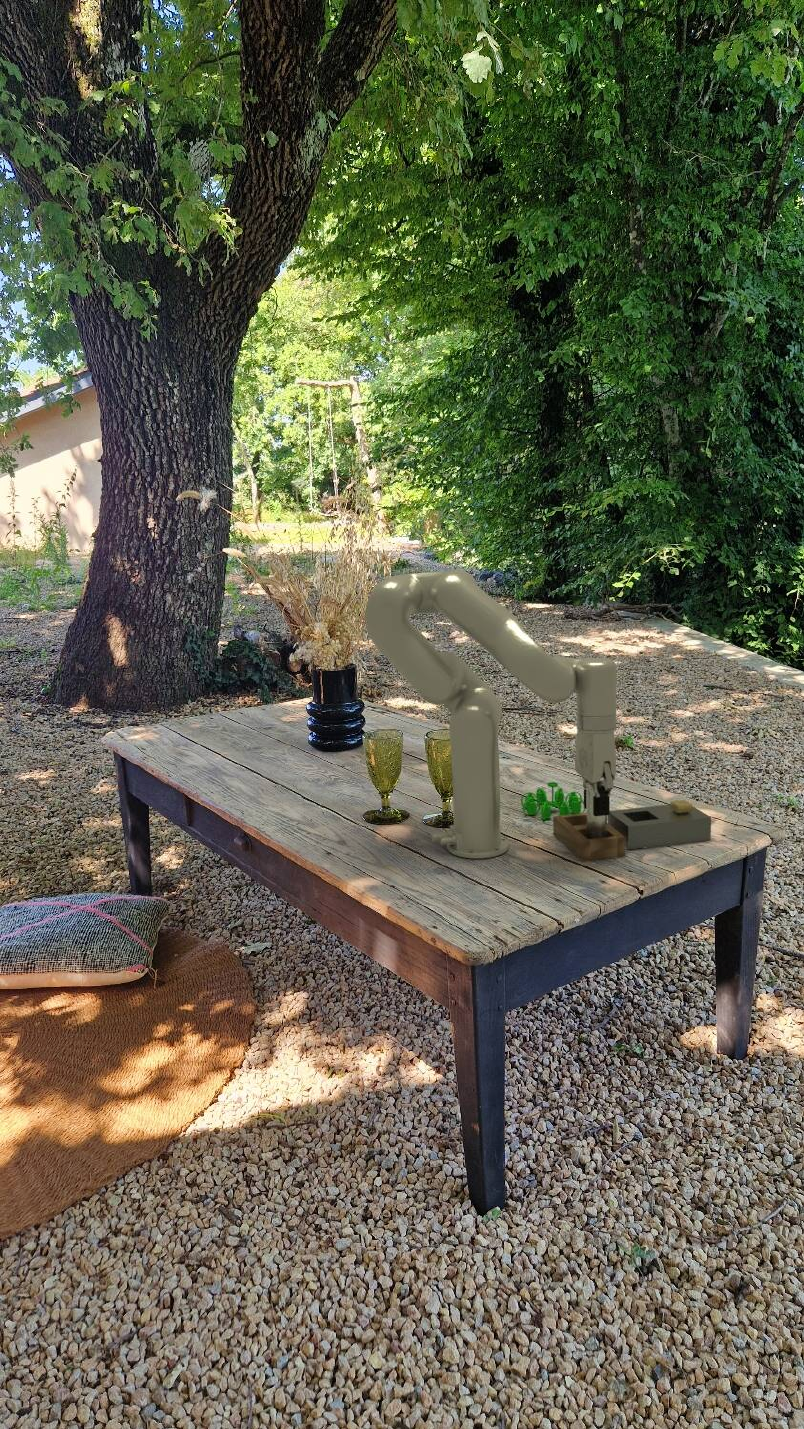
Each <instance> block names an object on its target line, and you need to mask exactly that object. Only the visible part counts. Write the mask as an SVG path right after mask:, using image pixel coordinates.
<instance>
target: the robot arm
mask: <svg viewBox="0 0 804 1429" xmlns="http://www.w3.org/2000/svg"><path fill="white" fill-rule="evenodd" d="M365 605H366V606H365V611H364V622H365V627H366V631H367V633H368V635H369V638H370V640H371V641H372V643H373V644H374V645H375V647H376V648H377V649H378V650H379V652H380V653H381V654H382V655H383V656H384V657H385V658H386V659H387V660H388V661H389V662H390V664H391V665H392V666H394V668H395V669H396V670H397V672H398V673H399V674H400V675H401V676H402V678H404V680H406V681H407V682H408V683H409V684H410V686H412V688H413V689H414V690H415V692H417V694H419V695H420V697H421V698H422V699H423V700H424V701H425V702H427V703H429V704H432V705H436V706H440V705H441V706H442V705H444V706H445V707H446V708H447V709H448V710H449V712H450V713H451V714H450V717H449V724H448V727H449V728H448V732H449V735H448V736H449V742H450V753H451V775H452V800H453V801H452V802H453V803H452V804H453V805H452V807H453V824H450V826H449V827H450V829H445V830H446V831H437V832H436V831H434V832H431V834H430V836H431V842H432V843H436V842H439V843H440V845H446V848H447V851H448V852H449V853H450V854H452V855H454V856H457V857H460V858H465V859H489V858H495V857H498V856H500V855H503V854H504V853H506V852H507V851H508V849H509V847H510V846H509V841H508V839H506V837H504V836H502V835H501V834H502V832H501V830H502V829H501V789H500V788H501V786H500V785H501V781H500V778H501V777H500V775H501V774H500V753H499V752H500V751H499V727H500V723H501V720H502V717H503V707H502V704H501V702H500V700H499V698H498V697H497V695H496V694H495V693H494V691H493V690H492V689H491V688H490V687H489V686H488V685H487V684H486V683H485V682H484V681H483V680H482V679H481V678H480V677H479V676H478V674H477V673H476V672H474V670H473V668H471V667H470V666H469V665H468V663H466V662H465V661H464V659H462V658H461V657H460V656H458V655H456V654H455V653H452V652H449V651H439V650H438V649H437V648H436V647H434V645H433V644H432V643H431V642H430V641H429V640H428V639H427V637H426V636H424V634H422V632H421V631H420V630H418V629H417V628H416V627H415V626H414V625H413V624H412V622H411V620H410V619H409V617H410V615H411V616H412V615H420V614H421V615H422V614H438V613H440V614H442V615H443V616H444V617H445V618H446V619H447V620H448V621H450V622H451V623H453V624H454V625H455V626H457V627H458V628H459V629H460V630H461V631H463V632H464V633H465V634H466V635H467V636H469V637H470V638H471V639H472V640H474V641H475V642H476V643H478V644H479V645H480V646H481V647H483V648H484V649H485V650H486V651H487V652H488V654H489V655H491V657H492V658H494V659H495V660H496V661H497V662H498V663H499V664H500V665H501V666H502V667H503V668H504V669H505V670H506V671H507V672H508V673H510V675H512V676H513V677H514V678H515V679H516V680H517V681H519V682H520V683H521V684H522V685H523V686H525V687H526V688H527V689H528V690H530V691H531V692H532V693H533V694H535V695H536V696H538V697H539V699H542V700H543V701H545V702H548V703H552V704H559V703H562V702H565V701H567V700H569V699H570V698H571V697H572V695H573V693H575V694H576V731H577V732H576V738H575V739H576V740H575V757H574V758H575V759H574V769H575V772H576V774H578V775H579V776H581V777H582V779H583V781H582V787H583V801H584V804H583V809H584V808H585V810H586V782H588V781H589V782H591V783H594V788H595V796H593V815H594V816H605V815H607V816H608V815H609V813H610V811H611V810H610V805H611V804H610V796H611V794H612V793H611V791H612V790H613V789H614V788H615V784H614V781H615V780H616V776H617V775H616V774H617V754H616V752H617V750H616V740H615V732H616V730H617V671H618V670H617V664H616V662H615V661H614V660H613V659H610V658H608V657H605V658H604V657H589V658H588V657H587V658H573V657H566V656H552V655H550V654H549V653H548V652H547V651H545V650H544V649H543V648H542V647H541V646H539V645H538V644H537V642H535V641H534V640H533V638H532V637H530V635H528V632H527V631H526V630H525V629H524V628H523V626H522V624H521V622H520V621H519V620H518V618H517V617H516V616H515V615H514V614H513V613H512V612H511V611H509V610H508V609H507V608H505V606H503V605H502V604H501V603H499V602H498V601H497V600H495V599H494V598H493V597H492V596H491V595H489V594H488V593H487V592H485V591H484V590H483V589H482V588H481V587H479V586H478V583H477V580H476V579H475V577H474V576H473V575H472V574H471V573H469V572H468V571H465V570H463V569H450V570H440V571H426V572H415V573H414V572H413V573H400V574H396V575H393V576H391V577H390V576H389V577H388V578H385V579H382V580H381V581H380V582H378V583H377V584H376V585H375V586H374V587H373V589H372V590H371V592H370V594H369V596H368V598H367V601H366V604H365ZM602 778H603V779H602ZM601 779H602V780H601ZM599 784H604V786H601V787H600V789H599Z"/></svg>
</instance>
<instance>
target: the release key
mask: <svg viewBox="0 0 804 1429" xmlns="http://www.w3.org/2000/svg"><path fill="white" fill-rule="evenodd" d="M669 805H670V809H672V810H673V811H675V812H676V813H678V814H685V813H687V812H692V806H693V804H692V803H690V802H689V801H688V800H686V799H683V800H673V801H670V803H669Z"/></svg>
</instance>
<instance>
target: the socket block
mask: <svg viewBox="0 0 804 1429" xmlns="http://www.w3.org/2000/svg"><path fill="white" fill-rule="evenodd" d="M607 823H608V824H609V825H610V826H612V827H613V828H614V829H615V830H617V831H618V832H619V833H621V834H622V835H623V836H624V837H626V839H625V847H626V848H627V849H628V850H627V849H626V848H625V849H626V850H627V851H630V850H629V849H634V850H637V849H636V848H642V849H645V848H644V847H651V848H653V847H652V846H660V847H667V846H675V845H676V846H677V845H685V844H692V843H693V844H694V843H701V842H710V841H711V836H712V835H711V834H712V817H711V816H710V815H708V814H707V813H705V812H703V811H701V810H700V809H698V808H696V807H695V806H693V805H692V812H687V813H685V814H678V813H676V812H675V811H673V810H672V809H670V804H662V805H661V804H660V805H653V806H644V807H634V808H633V807H632V808H626V809H617V810H614V809H613V810H610V813H609V815H607Z"/></svg>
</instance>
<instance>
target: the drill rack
mask: <svg viewBox="0 0 804 1429" xmlns="http://www.w3.org/2000/svg"><path fill="white" fill-rule="evenodd" d="M580 813H581V814H580ZM580 813H579V814H570V815H562V816H560V815H557V816H555V815H553V816H552V818H553V819H552V820H553V821H552V824H553V825H552V828H553V829H552V830H553V832H552V833H553V836H555V838H557V839H558V840H559V841H560V842H561V843H562V844H563V845H564V846H565V847H566V849H569V851H570V852H572V853H573V854H574V856H576V858H578V860H580V861H581V862H583V863H584V862H589V861H590V862H591V861H599V860H607V859H613V858H614V859H615V857H617V858H623V857H622V856H625V857H626V848H625V839H626V837H624V836H623V835H622V834H621V833H619V832H618V831H617V830H615V829H614V828H613V827H612V826H610V825H609V824H608V822H607V837H604V838H595V839H587V838H586V812H583V813H582V812H580Z"/></svg>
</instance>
